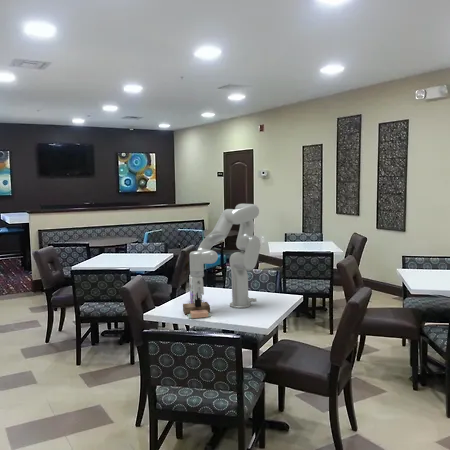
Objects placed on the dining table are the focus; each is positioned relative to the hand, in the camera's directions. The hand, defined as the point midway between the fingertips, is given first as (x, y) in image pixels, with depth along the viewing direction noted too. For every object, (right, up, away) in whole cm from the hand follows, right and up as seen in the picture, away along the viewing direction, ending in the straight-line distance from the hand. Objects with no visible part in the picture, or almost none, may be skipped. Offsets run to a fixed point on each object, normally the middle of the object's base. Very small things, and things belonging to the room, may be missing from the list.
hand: (198, 306), depth 259 cm
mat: (+1, -5, -2) cm, 5 cm away
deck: (-1, -4, +7) cm, 8 cm away
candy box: (-3, -3, +26) cm, 27 cm away
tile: (+1, -3, -4) cm, 5 cm away
